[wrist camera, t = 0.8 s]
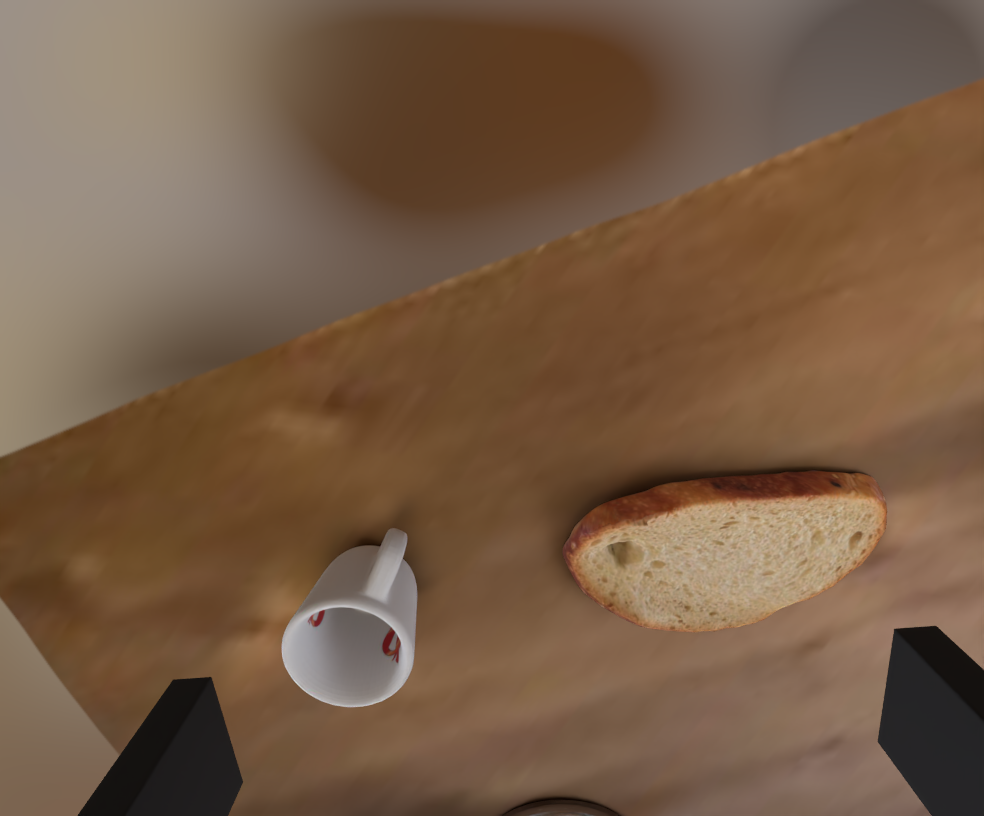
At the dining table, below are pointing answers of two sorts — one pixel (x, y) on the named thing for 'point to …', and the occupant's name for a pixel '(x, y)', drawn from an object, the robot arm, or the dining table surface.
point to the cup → (356, 627)
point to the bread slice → (725, 546)
